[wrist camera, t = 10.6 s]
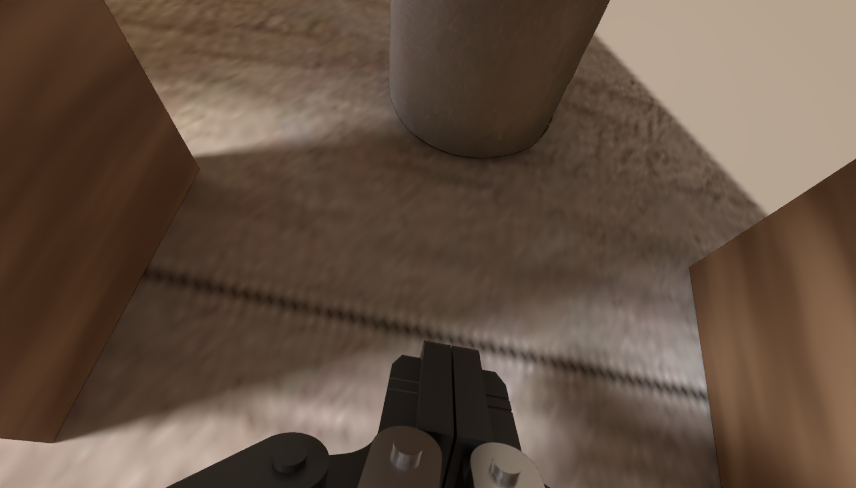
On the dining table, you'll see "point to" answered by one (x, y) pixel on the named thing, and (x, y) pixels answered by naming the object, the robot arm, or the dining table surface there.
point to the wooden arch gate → (176, 169)
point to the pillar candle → (485, 68)
